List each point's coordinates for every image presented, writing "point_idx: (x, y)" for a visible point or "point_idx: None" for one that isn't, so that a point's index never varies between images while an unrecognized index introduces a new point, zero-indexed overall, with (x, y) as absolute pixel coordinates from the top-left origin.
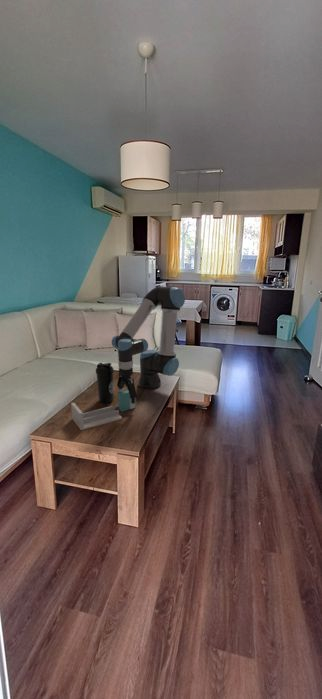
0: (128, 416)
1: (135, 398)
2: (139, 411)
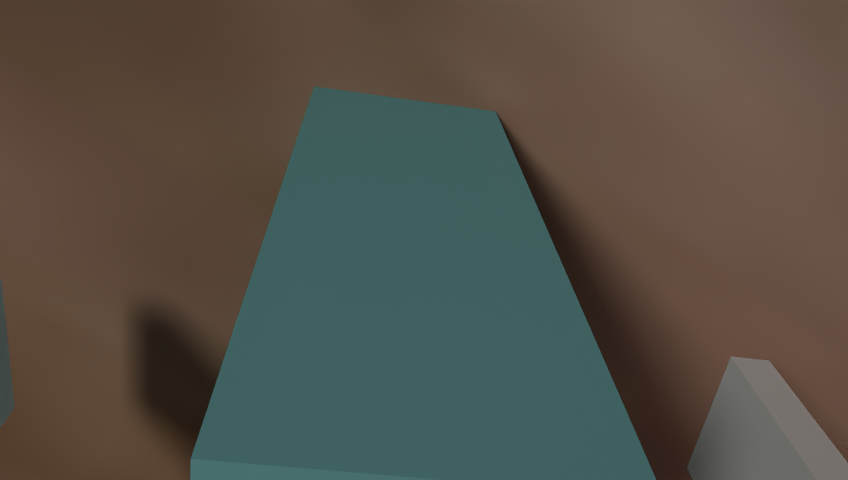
0: None
1: (549, 242)
2: (752, 175)
